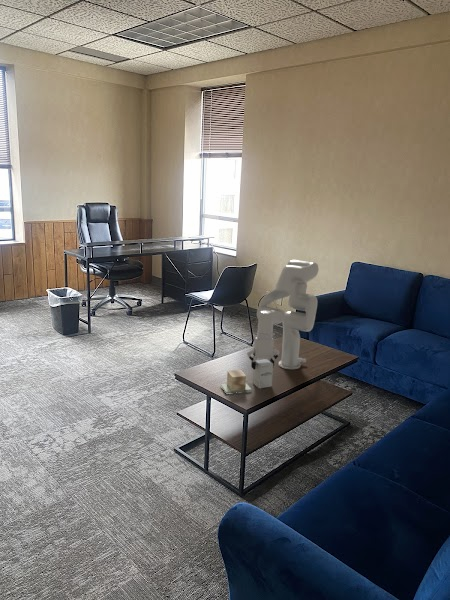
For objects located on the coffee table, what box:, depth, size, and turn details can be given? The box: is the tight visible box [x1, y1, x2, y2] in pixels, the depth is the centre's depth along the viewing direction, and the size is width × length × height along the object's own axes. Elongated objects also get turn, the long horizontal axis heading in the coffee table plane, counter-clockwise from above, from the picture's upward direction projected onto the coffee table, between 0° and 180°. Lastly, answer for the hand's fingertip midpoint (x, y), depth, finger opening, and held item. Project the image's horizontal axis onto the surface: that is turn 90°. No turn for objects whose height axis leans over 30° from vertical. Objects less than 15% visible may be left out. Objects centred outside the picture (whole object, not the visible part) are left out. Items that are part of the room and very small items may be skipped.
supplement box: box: [252, 358, 274, 389], centre depth 237 cm, size 7×7×13 cm
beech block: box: [226, 369, 247, 391], centre depth 231 cm, size 7×8×7 cm
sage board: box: [220, 383, 252, 394], centre depth 232 cm, size 13×9×2 cm
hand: (262, 368), depth 236 cm, fingers open, 9 cm apart
